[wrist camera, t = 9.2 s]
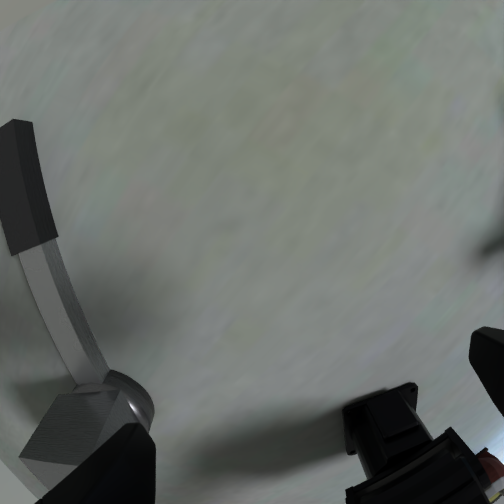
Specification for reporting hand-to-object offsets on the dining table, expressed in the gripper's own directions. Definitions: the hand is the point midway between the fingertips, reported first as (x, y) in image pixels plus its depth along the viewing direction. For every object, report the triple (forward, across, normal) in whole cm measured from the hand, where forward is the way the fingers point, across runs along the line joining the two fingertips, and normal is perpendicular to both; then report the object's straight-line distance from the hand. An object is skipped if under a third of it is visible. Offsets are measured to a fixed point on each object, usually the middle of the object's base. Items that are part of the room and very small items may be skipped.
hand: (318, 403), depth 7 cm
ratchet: (+12, +14, -1) cm, 18 cm away
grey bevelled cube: (+10, +14, +8) cm, 19 cm away
